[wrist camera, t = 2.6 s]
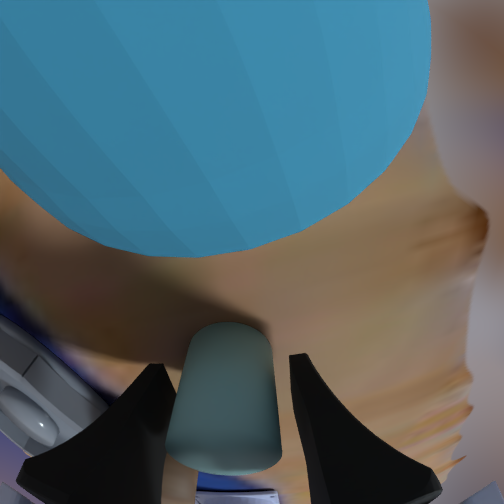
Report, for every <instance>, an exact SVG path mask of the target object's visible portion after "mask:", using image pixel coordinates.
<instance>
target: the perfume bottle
mask: <svg viewBox="0 0 504 504" xmlns="http://www.w3.org/2000/svg"><path fill="white" fill-rule="evenodd" d="M430 60H431V20H430V12H429V6H428V1H427V0H0V168H1V169H2V170H3V172H4V173H5V174H6V175H7V176H8V177H9V179H10V180H11V181H12V182H14V183H15V184H16V185H17V186H18V187H19V188H20V189H21V190H22V191H24V192H25V193H26V194H27V195H28V196H29V197H30V198H32V199H33V200H34V201H35V202H36V203H37V204H39V205H40V206H41V207H42V208H44V209H45V210H46V211H47V212H49V213H50V214H51V215H52V216H54V217H55V218H56V219H57V220H59V221H60V222H61V223H63V224H64V225H65V226H66V227H68V228H69V229H71V230H73V231H76V232H78V233H80V234H82V235H84V236H86V237H88V238H90V239H92V240H94V241H96V242H98V243H100V244H102V245H105V246H108V247H113V248H117V249H121V250H125V251H129V252H133V253H138V254H142V255H146V256H163V257H195V258H199V257H205V256H211V255H217V254H224V253H230V252H236V251H242V250H249V249H252V248H255V247H258V246H261V245H264V244H266V243H269V242H272V241H275V240H278V239H280V238H283V237H286V236H289V235H292V234H295V233H297V232H300V231H302V230H304V229H306V228H308V227H309V226H311V225H313V224H314V223H316V222H318V221H320V220H321V219H323V218H325V217H326V216H328V215H330V214H332V213H333V212H335V211H337V210H338V209H340V208H342V207H343V206H345V205H347V204H348V203H349V202H351V201H352V200H353V199H354V198H355V197H356V196H357V195H358V194H360V193H361V192H362V191H363V190H364V189H365V188H366V187H367V186H368V185H370V184H371V183H372V182H373V181H374V180H375V179H376V178H377V177H378V176H380V175H381V174H382V173H383V172H384V171H385V170H386V168H387V167H388V166H389V164H390V163H391V162H392V160H393V159H394V157H395V156H396V155H397V153H398V152H399V150H400V149H401V147H402V146H403V145H404V143H405V142H406V140H407V139H408V137H409V136H410V134H411V133H412V130H413V128H414V126H415V123H416V121H417V118H418V116H419V113H420V110H421V108H422V105H423V103H424V100H425V97H426V94H427V87H428V79H429V70H430Z"/></svg>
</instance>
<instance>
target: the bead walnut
mask: <svg viewBox="0 0 504 504" xmlns="http://www.w3.org/2000/svg"><path fill="white" fill-rule="evenodd" d="M197 478H198V470H195V469H192V468H190V467H187V466H185V465H183V464H181V463H179V462H178V461H176V460H175V459H174V458H172V457H171V456H170V455H169V454H168V452H167V454H166V458H165V463H164V469H163V480H162V496H161V504H195V495H196V487H197Z"/></svg>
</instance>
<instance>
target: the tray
mask: <svg viewBox="0 0 504 504" xmlns="http://www.w3.org/2000/svg"><path fill="white" fill-rule="evenodd" d="M109 407H110V406H109V405H108V404H107V403H106V402H105V401H104V400H103V399H102V398H101V397H100V396H99V395H98V394H97V393H96V392H95V391H94V390H93V389H92V388H91V387H90V386H89V385H88V384H87V383H86V382H84V381H83V380H82V379H81V378H80V377H79V376H78V375H77V374H76V373H75V372H74V371H73V370H71V369H70V368H69V367H68V366H67V365H66V364H65V363H64V362H63V361H61V360H60V359H59V358H58V357H57V356H55V355H54V354H53V353H52V352H51V351H50V350H48V349H47V348H46V347H45V346H44V345H42V344H41V343H40V342H39V341H37V340H36V339H35V338H34V337H32V336H31V335H30V334H28V333H27V332H26V331H24V330H23V329H22V328H20V327H19V326H18V325H16V324H15V323H13V322H12V321H10V320H9V319H7V318H6V317H4V316H2V315H0V431H1V432H2V433H3V434H5V435H6V436H7V437H8V438H9V439H10V440H11V441H12V442H14V443H15V444H16V445H17V446H19V447H20V448H21V449H22V450H24V451H25V452H26V453H28V454H29V455H31V456H32V457H33V456H36V455H39V454H41V453H44V452H46V451H48V450H50V449H52V448H54V447H56V446H58V445H60V444H62V443H64V442H65V441H67V440H69V439H70V438H72V437H73V436H75V435H76V434H78V433H79V432H81V431H82V430H84V429H85V428H86V427H88V426H89V425H90V424H91V423H93V422H94V421H95V420H96V419H97V418H98V417H100V416H101V415H102V414H103V413H104V412H105V411H106V410H107V409H108V408H109Z"/></svg>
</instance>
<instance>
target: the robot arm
mask: <svg viewBox="0 0 504 504" xmlns="http://www.w3.org/2000/svg"><path fill="white" fill-rule="evenodd" d="M289 363H290V382H291V394H292V402H293V409H294V414H295V419H296V423H297V427H298V431H299V435H300V439H301V443H302V447H303V451H304V455H305V460H306V465H307V472H308V480H309V488H310V497H311V504H429V503H430V502H431V501H433V500H434V499H435V498H437V497H438V496H439V495H440V494H441V492H442V490H443V489H442V487H441V484H440V482H439V480H438V478H437V476H436V475H435V473H434V472H433V470H432V469H431V468H429V467H427V466H425V465H423V464H421V463H419V462H417V461H415V460H413V459H411V458H409V457H407V456H406V455H404V454H402V453H401V452H399V451H397V450H396V449H394V448H393V447H391V446H390V445H388V444H387V443H386V442H384V441H383V440H381V439H380V438H379V437H377V436H376V435H375V434H373V433H372V432H371V431H370V430H369V429H367V428H366V427H365V426H364V425H363V424H362V423H361V422H360V421H358V420H357V419H356V418H355V417H354V416H353V415H352V414H351V413H350V412H349V411H348V410H347V409H346V407H345V406H344V405H343V404H342V403H341V402H340V401H339V400H338V398H337V397H336V396H335V395H334V394H333V392H332V391H331V390H330V388H329V387H328V386H327V385H326V383H325V382H324V381H323V379H322V378H321V376H320V375H319V373H318V372H317V370H316V369H315V367H314V365H313V364H312V362H311V360H310V358H309V356H308V355H307V354H306V353H302V354H295V355H289ZM176 395H177V394H176V392H175V389H174V387H173V385H172V383H171V381H170V378H169V376H168V374H167V371H166V369H165V367H164V364H155V363H150V364H149V365H148V366H147V367H146V368H145V369H144V370H143V371H142V372H141V374H140V375H139V376H138V377H137V378H136V379H135V380H134V382H133V383H132V384H131V385H130V386H129V387H128V388H127V389H126V390H125V392H124V393H123V394H122V395H121V396H120V397H119V398H118V399H117V400H116V401H115V402H114V403H113V404H112V405H111V406H110V407H109V408H108V409H107V410H106V411H105V412H104V413H103V414H102V415H101V416H100V417H98V418H97V419H96V420H95V421H94V422H93V423H91V424H90V425H89V426H88V427H86V428H85V429H84V430H82V431H81V432H79V433H78V434H76V435H75V436H73V437H72V438H70V439H69V440H67V441H65V442H64V443H62V444H60V445H58V446H56V447H54V448H52V449H50V450H48V451H46V452H44V453H41V454H39V455H36V456H33V457H31V458H28V459H25V461H24V463H23V466H22V468H21V470H20V472H19V475H18V477H17V479H16V482H17V484H18V485H20V486H21V487H22V488H23V489H25V490H26V491H27V492H29V493H30V494H32V495H33V496H35V497H36V498H38V499H39V500H41V501H42V502H44V503H45V504H161V496H162V480H163V469H164V463H165V458H166V454H167V451H166V448H165V441H166V437H167V433H168V428H169V424H170V420H171V416H172V411H173V407H174V403H175V399H176ZM195 499H196V500H197V501H198V502H199V503H200V504H280V503H279V498H278V493H277V491H262V492H203V491H196V495H195ZM0 504H34V503H33V502H31V501H30V500H29V499H27V498H26V497H24V496H23V495H21V494H20V493H19V492H17V491H16V490H14V489H13V488H11V487H10V486H8V485H7V484H5V483H4V482H2V484H1V486H0ZM460 504H504V499H503V497H502V494H501V492H500V490H499V488H498V485H497V483H496V481H493V482H491V483H490V484H489V485H487V486H486V487H484V488H483V489H481V490H480V491H478V492H477V493H475V494H473V495H472V496H471V497H469V498H467V499H466V500H464V501H463V502H461V503H460Z"/></svg>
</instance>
